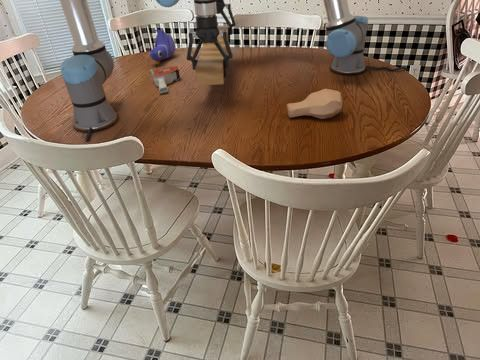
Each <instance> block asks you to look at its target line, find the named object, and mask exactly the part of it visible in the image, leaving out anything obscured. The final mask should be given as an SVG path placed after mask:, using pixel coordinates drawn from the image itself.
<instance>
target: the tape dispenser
mask: <svg viewBox="0 0 480 360" xmlns="http://www.w3.org/2000/svg"><path fill="white" fill-rule="evenodd" d="M164 70H166V71H164ZM149 72H150V76H151V78H152V80H153V82H154V85H155V86H156V87H158V93H159V94H166V93H168V92H169V87H168V85H169V84H172V83H173V82H174V81H179V80H180V78H181V76H180V70H179V67H178V66H177V65H174V66H173V65H172V66H166V67H161V68H155V69H154V68H152V69H149Z"/></svg>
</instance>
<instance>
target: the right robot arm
mask: <svg viewBox="0 0 480 360" xmlns="http://www.w3.org/2000/svg"><path fill="white" fill-rule="evenodd" d="M322 1H323V4H324V9H325V14H326V17H327V23H326V25H325V30H326V31H325V32H326V36H327V38H326V39H325V49H326V50H327V52H328V53H329V54H330V56H333V59H332V61H331V65H330V70H331V71H332V72H333V73H335V74H339V75H344V76H345V75H346V76H353V75H354V76H355V75H360V74H363V73H364V72H365V71H366V69H371V70H372V69H373V70H388V71H391V72H395V71H396V72H397V71H399V70H403V71H409V69H408V68H407V67H405V66H400V67H397V68H390V67H388V66H380V67H376V66H370V65H366V61H365V55H364V51H365V44H366V38H367V33H368V31H367V30H368V26H369V18H368V17H367V16H363V15H353V14H352V13H351V12H350V6H349V3H348V0H322ZM225 8H226V9H227V11H228V15H229V18H230V19H229V18H228V16H227V15H226V13H225V10H224V9H225ZM216 10H217V13H216V14H217V15H220V16H222V19H224V21H225V23H226V25H228V26H229V27H228V37H229V44H230V43H231V41H232V40H231V36H232V35H233V28H234V27H236V25H237V23H236V21H235V18H234V14H233V11H232V5H231V3H225V0H216ZM216 14H215V15H216Z"/></svg>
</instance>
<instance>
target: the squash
mask: <svg viewBox="0 0 480 360" xmlns="http://www.w3.org/2000/svg"><path fill="white" fill-rule="evenodd" d="M343 103H344V99H343V97H342V93H341V91H338V90H334V89H329V88H322V89H321V90H319V91H314V92H311V93H310V94H309V95H307V96H306V98H305V99H303V100H302V101H297V102H291V103H287V104H286V107H285V108H286V111H287V116H288V117H289V118H295V117H300V116H310V117H314V118H318V119H320V120H325V119H331V118H333V117H334V116H336V115H338V114H340V113H341V112H342V108H343V105H344V104H343Z"/></svg>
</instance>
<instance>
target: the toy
mask: <svg viewBox="0 0 480 360" xmlns="http://www.w3.org/2000/svg"><path fill="white" fill-rule="evenodd" d="M153 32H157V34H156V35H155V40H154V47H152V48H150V50H149V54H148V55H149V57H150V58H151V59H152V60H153V61H155V62H156V64H157V66H159V64H160V61H162V60H166V59H168V58H170V57H172V56H173V54H174V53H175V52H176V43H175V42H176V41H175V39H174V38H173V36H172V35H171V34H170V33H167V32H165V31H164V29H162V28H161V29H154V31H153Z"/></svg>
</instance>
